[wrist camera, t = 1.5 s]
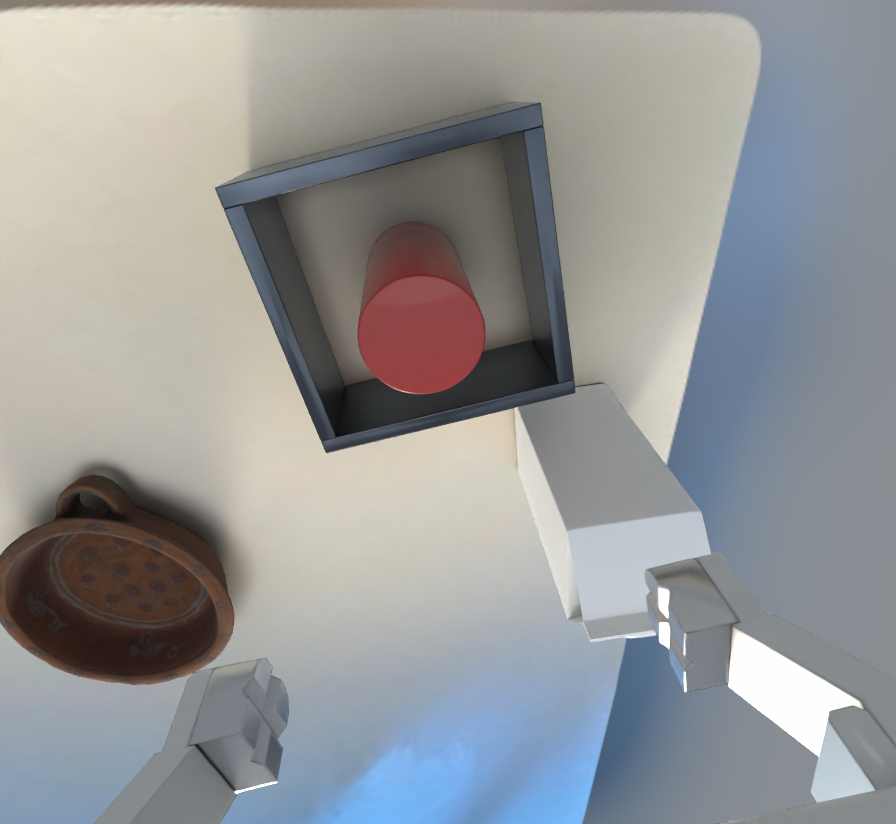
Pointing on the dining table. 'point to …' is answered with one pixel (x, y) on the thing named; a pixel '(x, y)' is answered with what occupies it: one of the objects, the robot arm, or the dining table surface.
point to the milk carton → (602, 508)
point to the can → (418, 312)
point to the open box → (300, 329)
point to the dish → (115, 591)
